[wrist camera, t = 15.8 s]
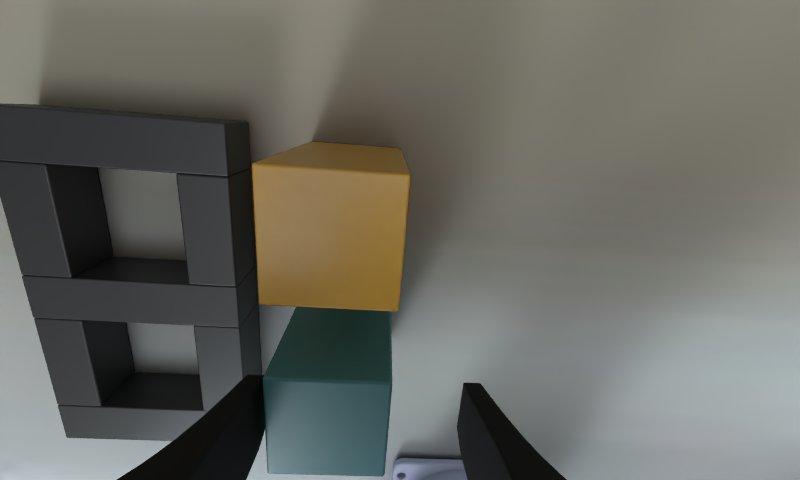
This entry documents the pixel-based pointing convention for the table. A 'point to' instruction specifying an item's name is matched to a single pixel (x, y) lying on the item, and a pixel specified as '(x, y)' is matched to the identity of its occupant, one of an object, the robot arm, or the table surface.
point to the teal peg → (330, 393)
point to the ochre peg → (331, 226)
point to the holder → (131, 262)
